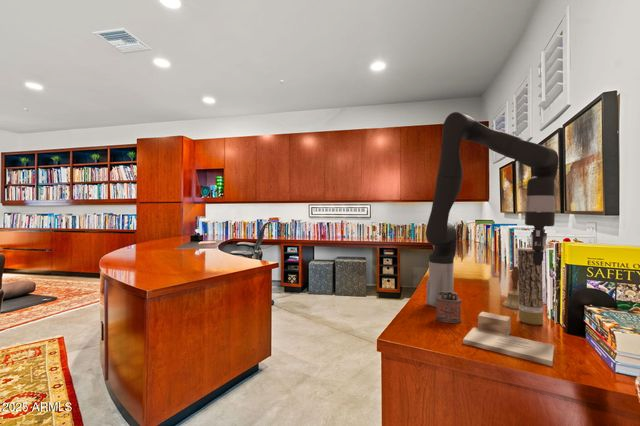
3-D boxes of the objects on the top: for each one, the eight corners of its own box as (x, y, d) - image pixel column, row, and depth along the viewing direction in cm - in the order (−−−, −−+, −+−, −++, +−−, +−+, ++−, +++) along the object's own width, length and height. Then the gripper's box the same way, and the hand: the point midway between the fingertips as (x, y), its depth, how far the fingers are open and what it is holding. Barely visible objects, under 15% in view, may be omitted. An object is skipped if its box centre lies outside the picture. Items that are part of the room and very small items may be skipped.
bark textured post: (547, 326, 101) (546, 249, 101) (524, 325, 102) (523, 249, 103) (537, 319, 108) (536, 247, 108) (515, 318, 109) (514, 247, 109)
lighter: (460, 320, 106) (461, 291, 106) (461, 323, 103) (462, 293, 103) (435, 317, 108) (435, 289, 108) (435, 320, 105) (436, 291, 105)
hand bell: (526, 305, 125) (527, 266, 125) (527, 310, 118) (527, 269, 118) (502, 302, 130) (503, 264, 130) (502, 307, 123) (502, 266, 123)
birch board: (463, 343, 87) (463, 339, 87) (473, 331, 96) (473, 327, 96) (552, 366, 74) (552, 361, 74) (554, 349, 83) (554, 345, 83)
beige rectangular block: (477, 331, 97) (478, 315, 97) (481, 327, 100) (482, 311, 100) (507, 338, 91) (507, 321, 91) (510, 333, 95) (510, 317, 95)
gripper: (527, 210, 104) (525, 258, 104) (523, 210, 93) (521, 263, 93) (554, 211, 100) (553, 261, 100) (554, 210, 88) (553, 267, 89)
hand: (538, 262), depth 96 cm, fingers open, 8 cm apart
